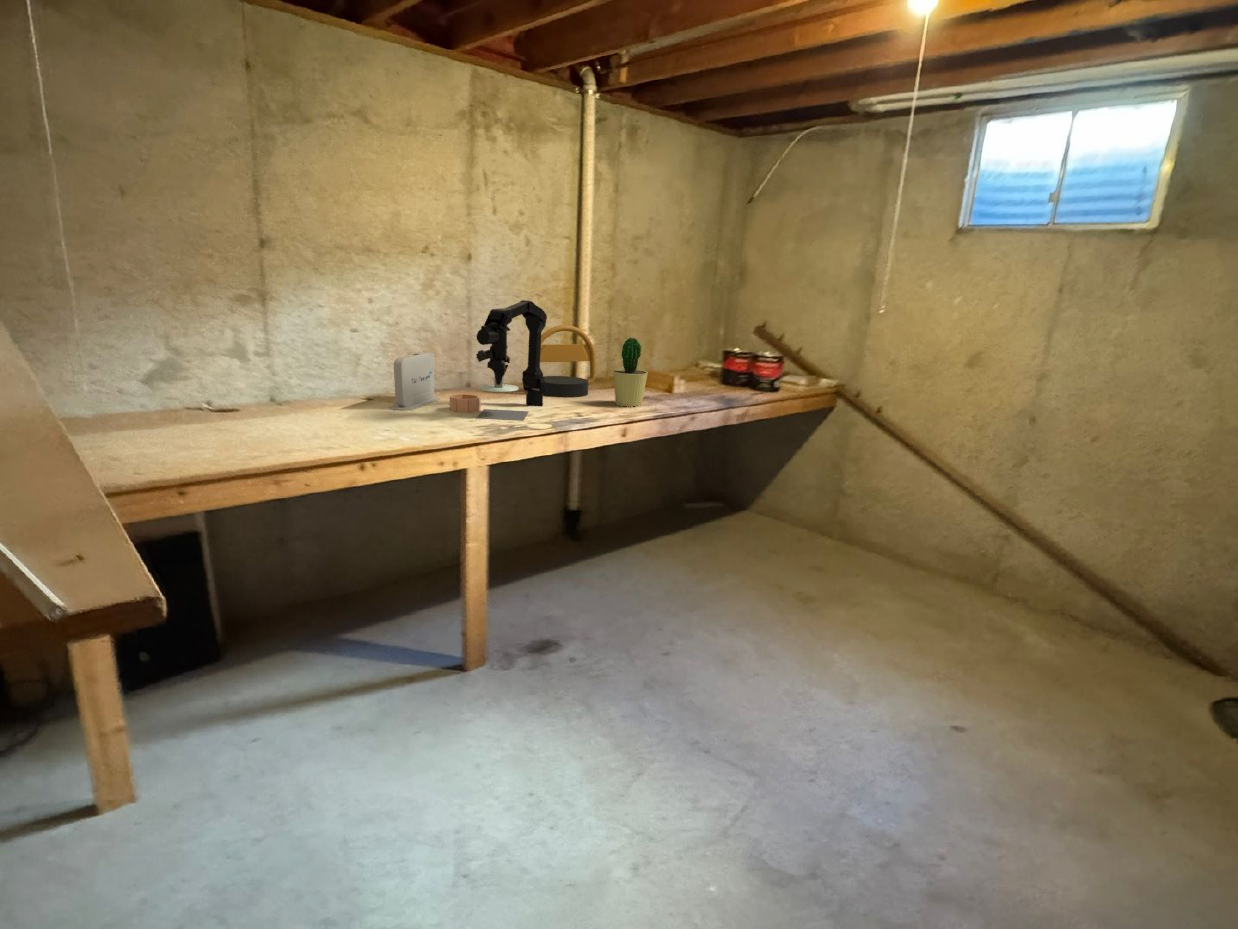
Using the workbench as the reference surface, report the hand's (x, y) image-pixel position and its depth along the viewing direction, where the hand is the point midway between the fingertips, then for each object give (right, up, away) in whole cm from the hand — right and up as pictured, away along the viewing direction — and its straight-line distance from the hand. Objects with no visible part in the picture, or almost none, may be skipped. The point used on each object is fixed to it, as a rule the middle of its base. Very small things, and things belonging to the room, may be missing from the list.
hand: (498, 384), depth 264 cm
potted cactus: (+51, -5, +40) cm, 64 cm away
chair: (+19, +3, +60) cm, 63 cm away
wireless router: (-37, -6, +17) cm, 41 cm away
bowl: (-15, -9, +9) cm, 20 cm away
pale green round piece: (0, -2, 0) cm, 2 cm away
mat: (+1, -12, +3) cm, 12 cm away
